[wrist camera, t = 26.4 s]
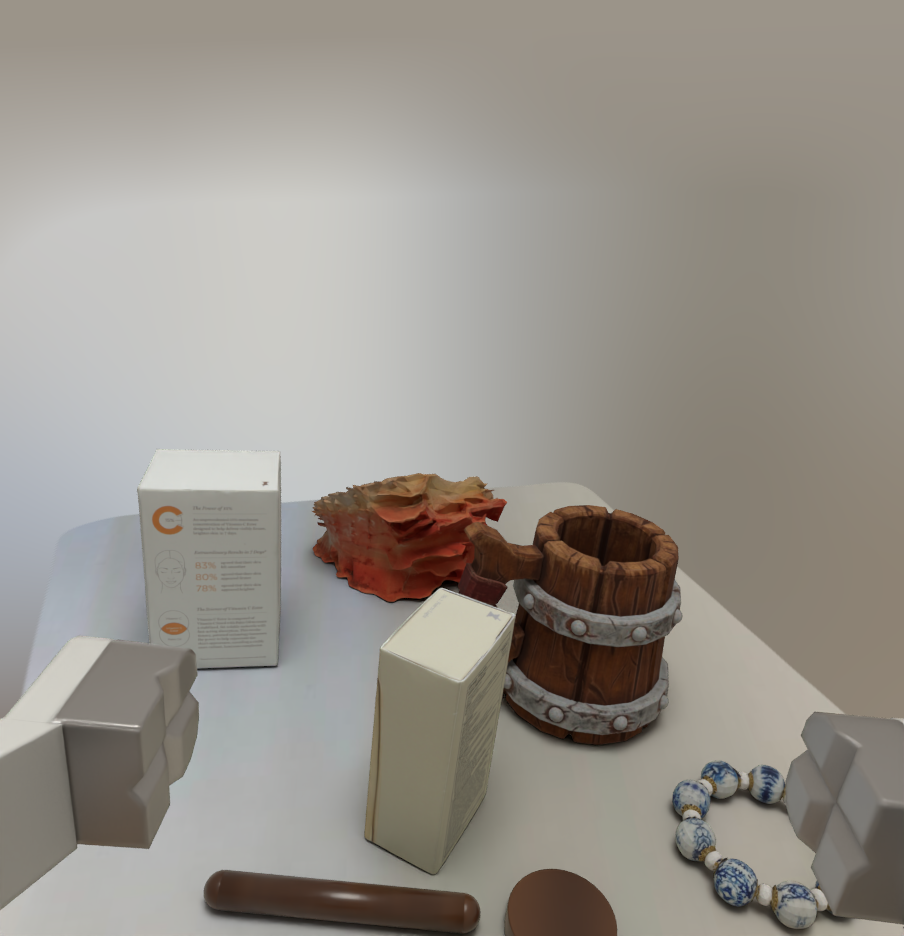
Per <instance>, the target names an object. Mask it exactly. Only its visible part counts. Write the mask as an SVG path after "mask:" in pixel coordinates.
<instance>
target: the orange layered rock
mask: <svg viewBox="0 0 904 936" xmlns="http://www.w3.org/2000/svg"><path fill="white" fill-rule="evenodd" d="M486 485H487V484H484V483H483V482H482V481H481V480H480V479H479V477H469V478H467V479H466V480H464V481H463V482H461V481H459V482H450V481H446V480H444V479H442V478H440V477H439V476H438V475H436V474H427V475H426V474H425V475H423V474H421V473H418V474H413V475H408V476H400V477H393V478H387V479H385V480H383V481H382V482H374V483H369V484H364V485H361V486H356V485H353V488H348V487H346V489H348V491H347V492H346V493H345V492H336V493H333V494H328V496H325V497H321V500H319V501H317V502H314V503H315V504H314V506H315V507H313V509H314V510H315V511H312V512H314V513H316V514H315V515H317V516H319V517H321V518H318V519H320V520H324V523H318V525H320V526H323V527H326V528H327V531H326V532H325V534H324V535H323V536H322V538H320V539H318V540H317V544H316V545H315V546H314V547H313V551H314V553H315V555H316V556H317V557H321V558H322V560H323V562H325V563H326V562H335V567H336V568H337V570H338V571H337V573H336V576H337V577H347V578H348V584H349V586H351V587H353V588H355V589H357V590H359V591H361V592H364V593H374V594H376V595H377V596H379V597H381V598H382V599H384V600H386V601H387V602H394V601H396V600H397V599H400V598H418V599H421V598H424V597H427V596H431V593H432V591H433V590H434V589H435V588H437V587H439V586H441V584H442V582H443V581H444V580H453V581H456V582H460V579H461V576H462V574H463V571H464V568H465V566H466V563H472V562H473V560H474V549H475V546H474V545H473V543H472V542H471V541H470V540H469V538H468V536H467V535H466V533H465V531H464V530H465V528H466V527H467V526H469V525H471V524H472V523H474V522H480V523H482V524H484V525H487V524H486V523H485V517H487V518H489V519H491V520H494V521H497V522H498V520H499V517H500V515H501V513H502V511H503V508H504V506H505V505H506V503H507V502H506V501H505V500H504V499H498V498H496V499H493V495H492V493H491V491H493V490H488V489H485V488H484V487H485V486H486ZM487 490H488V491H487Z"/></svg>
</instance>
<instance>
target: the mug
mask: <svg viewBox="0 0 904 936" xmlns="http://www.w3.org/2000/svg"><path fill="white" fill-rule="evenodd" d="M464 531H465V533H466V535H467V536H468V538H469V540H470V541H471V542H472V543H473V545H474V546H475V549H474V560H473V562H472V563H466V566H465V568H464V571H463V574H462V576H461V579H460V582H459V584H458V588H459V593H458V594H461V595H464V596H467V597H469V598H472V599H474V600H477V601H480V602H483V603H486V604H488V605H491V606H493V607H496V608H497V606H496V604H497V603H498V602H499V600H500V599H501V597H502V595H503V594H504V592H505V591H506V589H507V586H506V585H505V584H506V583H507V582H508V581H510V580H514V584H513V587H514V590H515V593H516V596H517V599H518V602H519V606H518V610H517V613H516V617H515V622H514V628H513V634H512V640H511V646H510V651H509V657H508V664H507V670H506V676H505V682H504V688H503V694H507V695H506V698H505V699H506V700H507V702H508V703H509V704H510V705H511V707H512V708H513V709H514V711H515V712H516V713H517V714H518V715H519V716H520V717H522V718H523V719H525V720H526V721H527V722H529V723H530V724H532V725H533V726H535V727H536V728H538V729H539V730H540V731H543V732H545V733H548V734H551V735H553V736H556V737H559V738H561V739H564V738H565V737H566V736H567V735H568V734H570V735H571V736H572V738H573V741H574V742H578V743H586V744H594V745H600V744H607V743H614V742H621V741H626V740H628V739H630V738H631V737H633V736H635V735H637V734H639V733H641V732H642V727H643V728H646V727H648V725H649V723H650V722H651V721H653V720H654V719H656V717H657V715H658V714H659V712H660V711H661V709H664V708H666V707H667V706H668V698H667V692H668V664H667V662H666V661H665V660H664V659H663V657H662V652H663V646H664V639H665V636H666V635H668V634H669V633H670V631H671V630H672V629H673V627H674V626H675V625H676V623H679V622H680V621H681V620H682V613H681V611H680V605H681V595H680V587H679V585H678V584H677V582H676V581H675V574H676V569H677V564H678V547H677V545H676V544H675V542H674V541H673V540H672V539H671V537H670V536H669V535H665V532H664V530H662V529H661V528H659V527H658V526H656V525H655V524H654V523H652V522H650V521H648V520H646V519H644V518H641V517H639V516H637V515H634V514H632V513H628V512H624V511H621V510H617V509H616V510H614V511H613V512H612V513H611V514H610V513H608V511H607V509H606V507H599V506H591V505H584V506H568V507H564V508H560V509H556V510H554V513H552V512H550V513H548V514H546V515H545V516H543V517H542V518H541V519H539V522H538V525H537V528H536V532H535V537H534V541H533V545H528V546H521V545H516V544H511V543H507V541H506V540H505V539H504V538H503V537H502V536H501V535H500V533H499V532H498V531H497V530H495V529H493V528H491V527H489V526H487V525H484V524H482V523H480V522H474V523H472V524H471V525H469V526H467V527H466V528H465V530H464Z"/></svg>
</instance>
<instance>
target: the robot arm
mask: <svg viewBox="0 0 904 936" xmlns="http://www.w3.org/2000/svg"><path fill="white" fill-rule="evenodd" d="M196 677H197V663H196V654H195V653H194V651H193V650H192V649H190V648H182V647H174V646H166V645H158V644H150V643H142V642H134V641H125V640H113V639H106V638H97V637H88V636H77V637H75V638H72V639H70V640H69V641H68V642H67V643H66V644H65V645H64V646H63V648H62V649H61V650H60V651H59V652H58V654H57V655H56V656H55V657H54V658H53V660H52V661H51V662H50V663H49V664H48V666H47V667H46V668H45V669H44V670H43V672H42V673H41V674H40V675H39V676H38V678H37V679H36V680H35V681H34V682H33V684H32V685H31V686H30V687H29V688H28V690H27V691H26V692H25V693H24V694H23V696H22V697H21V698H20V699H19V700H18V702H17V703H16V704H15V705H14V706H13V708H12V709H11V710H10V711H9V712H8V714H7V715H6V716H5V717H4V718H0V910H1V909H2V908H4V907H5V906H6V905H7V904H9V903H10V902H11V901H12V900H14V899H15V898H16V897H17V896H19V895H20V894H21V893H22V892H23V891H25V890H26V889H27V888H28V887H30V886H31V885H32V884H33V883H35V882H36V881H37V880H38V879H40V878H41V877H42V876H43V875H45V874H46V873H47V872H48V871H50V870H51V869H52V868H53V867H54V866H56V865H57V864H58V863H59V862H61V861H62V860H63V859H64V858H66V857H67V856H68V855H69V854H71V853H72V852H73V851H74V850H76V849H77V844H85V845H100V846H115V847H130V848H144V849H149V848H150V846H151V844H152V841H153V839H154V837H155V835H156V833H157V831H158V829H159V827H160V825H161V822H162V820H163V818H164V816H165V814H166V812H167V810H168V808H169V806H170V793H169V786H170V785H171V784H172V783H174V782H175V781H177V780H178V779H180V778H181V777H183V775H184V773H185V771H186V769H187V766H188V764H189V762H190V760H191V757H192V753H193V749H194V745H195V741H196V738H197V731H198V721H199V703H198V701H197V700H196V699H195V698H194V696H193V695H192V694H191V693H190V692H189V690H190V688H191V687H192V685H193V683H194V681H195V679H196ZM801 736H802V738H803V741H804V743H805V745H806V747H807V749H808V750H807V751H805V752H804V753H803V754H801V755H800V756H798V757H797V758H796V759H794V760H793V761H792V762H791V765H790V769H789V772H788V775H787V778H786V782H785V784H786V807H787V811H788V816H789V820H790V822H791V824H792V827H793V829H794V831H795V833H796V836H797V837H798V838H799V839H800V840H801V841H802V842H804V843H805V844H806V845H807V846H808V847H809V848H811V849H812V850H813V851H814V852H815V853H816V855H815V858H814V860H813V863H812V866H811V868H812V870H813V872H814V875H815V877H816V879H817V881H818V883H819V885H820V887H821V889H822V892H823V894H824V896H825V898H826V900H827V902H828V904H829V906H830V908H831V911H832V913H833V915H834V916H841V917H849V918H857V919H865V920H873V921H881V922H889V923H896V924H904V719H901V718H890V719H886V718H875V717H865V716H854V715H844V714H834V713H823V712H814V713H813V714H812V715H811V716H810V717H809V718H808V719H807V721H806V723H805V726H804V729H803V731H802V734H801ZM903 928H904V927H903Z"/></svg>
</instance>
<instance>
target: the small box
mask: <svg viewBox="0 0 904 936" xmlns="http://www.w3.org/2000/svg"><path fill="white" fill-rule="evenodd" d="M137 492H138V502H139V512H140V525H141V539H142V552H143V565H144V578H145V593H146V607H147V621H148V634H149V643H150V644H158V645H166V646H174V647H182V648H190V649H192V650H193V651H194V653H195V654H196V663H197V668H221V667H248V666H276V665H277V664H278V648H279V630H280V604H281V461H280V452H279V451H225V450H223V451H222V450H170V449H157V450H156V452H155V454H154V456H153V458H152V460H151V463H150V465H149V466H148V468H147V470H146V472H145V474H144V476H143V478H142V480H141V482H140V484H139V486H138V488H137Z"/></svg>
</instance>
